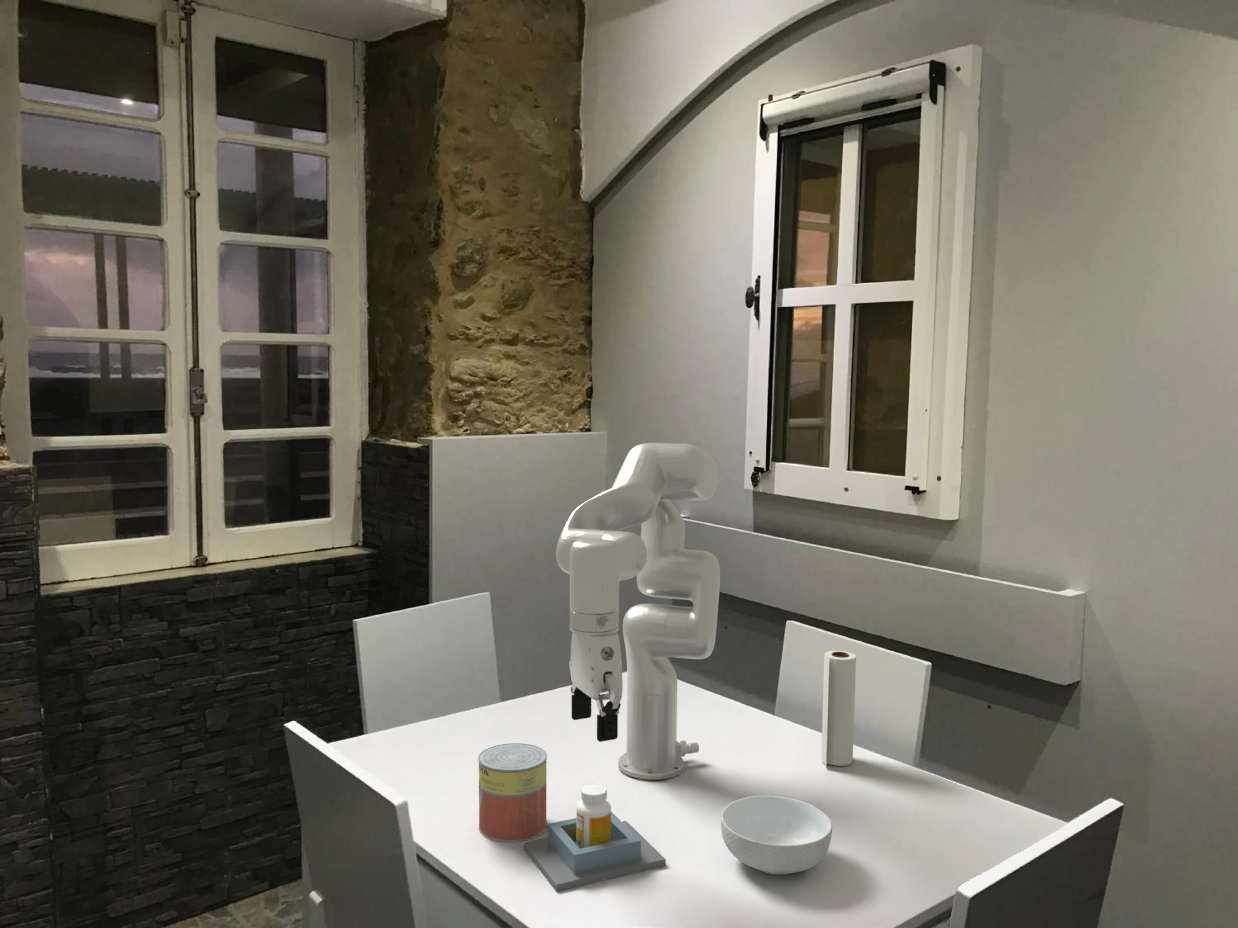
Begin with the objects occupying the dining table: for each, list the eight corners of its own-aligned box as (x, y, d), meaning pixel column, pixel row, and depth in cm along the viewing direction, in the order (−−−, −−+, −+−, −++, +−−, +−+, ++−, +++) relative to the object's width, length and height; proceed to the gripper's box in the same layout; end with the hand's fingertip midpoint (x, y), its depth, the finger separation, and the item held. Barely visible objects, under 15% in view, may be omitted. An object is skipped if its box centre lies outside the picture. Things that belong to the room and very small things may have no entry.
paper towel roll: (842, 753, 193) (845, 648, 191) (858, 764, 187) (862, 656, 185) (810, 757, 191) (813, 651, 189) (826, 769, 185) (829, 660, 183)
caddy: (625, 826, 161) (626, 803, 160) (665, 865, 148) (665, 840, 148) (523, 848, 153) (523, 823, 153) (556, 890, 141) (556, 864, 140)
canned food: (484, 809, 167) (484, 742, 165) (550, 811, 166) (550, 743, 165) (473, 841, 155) (472, 769, 154) (543, 842, 155) (543, 770, 154)
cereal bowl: (756, 900, 139) (757, 853, 138) (701, 848, 154) (701, 805, 153) (853, 876, 145) (855, 831, 145) (791, 828, 161) (792, 787, 160)
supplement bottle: (616, 845, 152) (617, 785, 151) (602, 860, 147) (602, 799, 146) (585, 838, 154) (585, 779, 153) (570, 853, 150) (570, 792, 149)
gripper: (641, 631, 141) (640, 744, 143) (593, 605, 157) (593, 707, 159) (595, 637, 138) (594, 752, 140) (550, 609, 154) (550, 714, 155)
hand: (593, 728), depth 149 cm, fingers open, 9 cm apart
